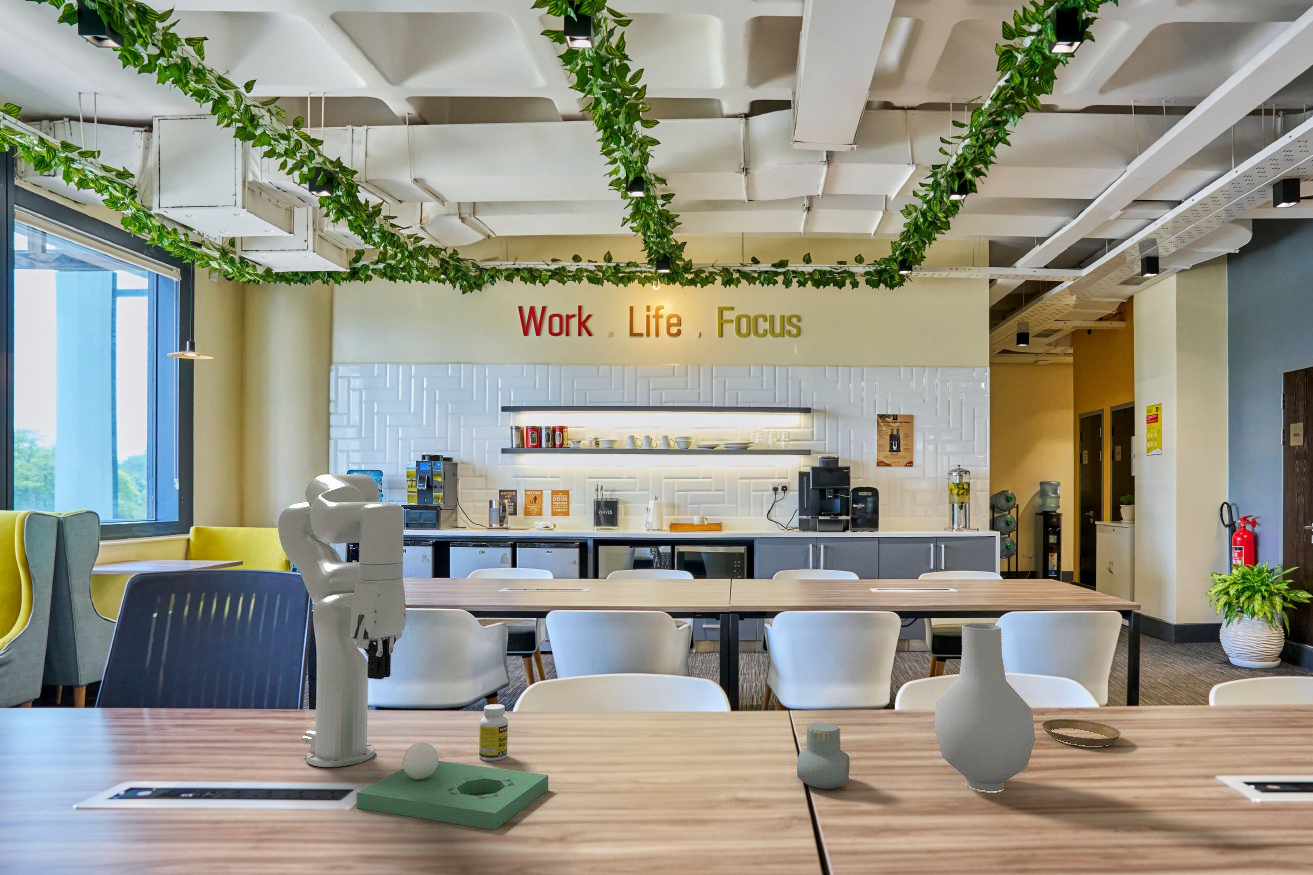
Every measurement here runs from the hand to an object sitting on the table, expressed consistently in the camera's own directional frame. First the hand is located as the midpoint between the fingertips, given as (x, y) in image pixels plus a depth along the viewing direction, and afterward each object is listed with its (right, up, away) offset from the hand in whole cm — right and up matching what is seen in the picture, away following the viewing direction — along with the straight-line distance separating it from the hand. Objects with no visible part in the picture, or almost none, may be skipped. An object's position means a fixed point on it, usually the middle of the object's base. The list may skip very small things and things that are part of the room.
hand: (379, 676), depth 148 cm
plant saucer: (+138, -21, +26) cm, 142 cm away
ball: (+9, -13, -4) cm, 16 cm away
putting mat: (+15, -19, -6) cm, 25 cm away
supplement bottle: (+17, -20, +15) cm, 31 cm away
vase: (+107, -19, -1) cm, 109 cm away
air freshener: (+79, -20, +1) cm, 81 cm away
